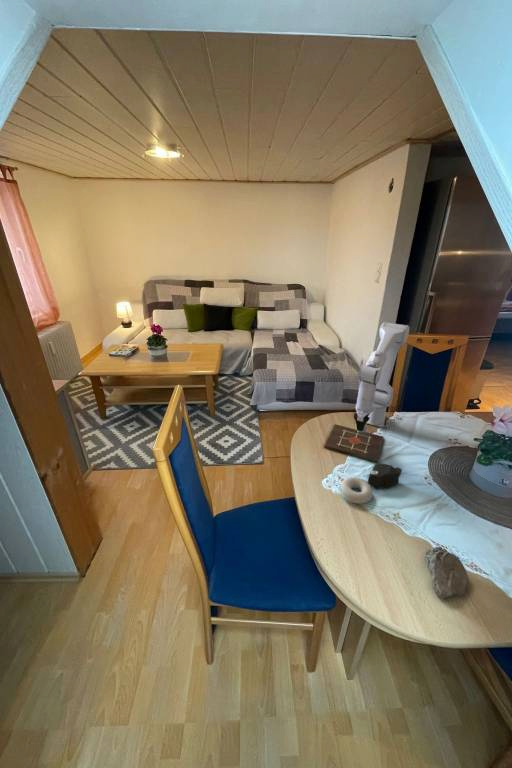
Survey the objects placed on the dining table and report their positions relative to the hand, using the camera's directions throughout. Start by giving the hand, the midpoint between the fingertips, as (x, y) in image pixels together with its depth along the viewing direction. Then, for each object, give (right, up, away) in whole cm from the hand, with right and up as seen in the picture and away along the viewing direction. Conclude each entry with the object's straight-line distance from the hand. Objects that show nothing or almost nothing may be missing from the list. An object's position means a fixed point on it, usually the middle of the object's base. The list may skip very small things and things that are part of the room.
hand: (360, 427), depth 117 cm
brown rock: (+6, -31, -42) cm, 52 cm away
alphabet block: (0, -1, +1) cm, 2 cm away
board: (-1, -7, +4) cm, 8 cm away
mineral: (+2, -17, -14) cm, 22 cm away
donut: (-8, -19, -19) cm, 28 cm away
